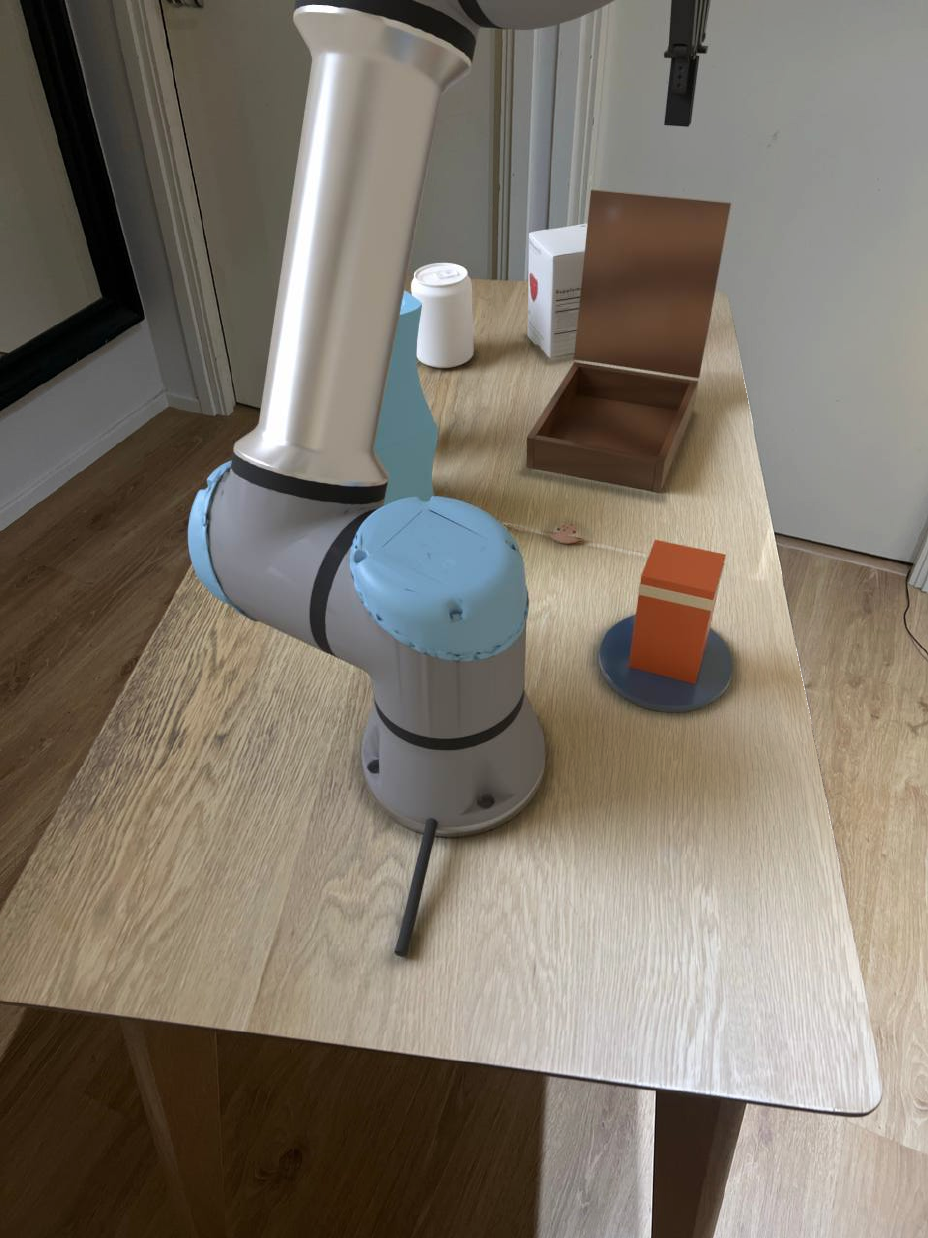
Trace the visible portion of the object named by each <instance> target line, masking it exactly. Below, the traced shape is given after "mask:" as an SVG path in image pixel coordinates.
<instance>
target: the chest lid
mask: <svg viewBox="0 0 928 1238" xmlns="http://www.w3.org/2000/svg"><path fill="white" fill-rule="evenodd" d="M731 207H732V202H731V201H720V200H711V199H699V198H690V197H679V196H678V197H677V196H671V195H670V196H669V195H658V194H646V193H637V192H627V191H616V190H607V189H606V190H605V189H596V188H592V189H591V190H590V196H589V204H588V214H587V234H586V244H585V254H584V263H583V273H582V283H581V293H580V303H579V313H578V323H577V333H576V343H575V352H574V353H573V360H576V361H581V362H590V363H595V364H601V365H602V364H603V365H608V366H614V367H622V368H629V369H635V370H640V371H641V370H642V371H648V372H653V373H654V372H655V373H661V374H668V375H675V376H681V377H688V378H694V379H699V378H700V377H701V372H702V371H701V370H702V366H703V361H704V355H705V349H706V344H707V339H708V333H709V329H710V322H711V317H712V312H713V306H714V301H715V296H716V295H715V294H716V290H717V284H718V278H719V274H720V268H721V263H722V256H723V251H724V247H725V241H726V236H727V230H728V224H729V219H730V213H731V209H732V208H731Z"/></svg>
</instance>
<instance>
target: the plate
mask: <svg viewBox="0 0 928 1238" xmlns="http://www.w3.org/2000/svg"><path fill="white" fill-rule="evenodd" d="M635 617H636V614H634V615H630V616H628V617H625V618H623V619H622V620H619V621H618V622H616V623H615V624H614V625H612V626H611V628H609V630H607V632H606V633H605V634H604V636H603V638H602V640H601V642H600V646H599V653H598V663H599V667H600V671H601V674H602V676H603V678H604V680H605V681H606V682H607V684H608V685H609V686H610V687H611V688H612V690H614V692H616V693H617V694H618V695H619V696H621V697H622V698H623V699H624V700H627V701H629V702H631V704H632V703H633V704H634V705H637V706H639V707H642V708H644V709H649V710H652V711H657V712H664V713H665V712H666V713H683V712H684V713H685V712H690V711H695V710H698V709H701V708H704V707H706V706H707V705H710V704H712V703H713V702H715V701H717V699H719V698H720V697H721V696H722V695H723V694H724V693H725V692H726V691H727V688H728V687H729V685H730V682H731V679H732V676H733V670H734V661H733V656H732V653H731V651H730V648H729V646H728V645H727V643H726V642H725V640H724V639H723V638H722V636H721V635H719V634H718V633H717V632H716V631H715V630H714V629H713V628H711V627H710V630H709V634H708V639H707V644H706V648H705V651H704V655H703V658H702V662H701V665H700V669H699V672H698V676H697V679H696V683H695V684H693V683H689V682H685V681H681V680H677V679H673V678H669V677H665V676H661V675H657V674H653V673H649V672H645V671H641V670H638V669H634V668H630V667H629V661H630V654H631V647H632V639H633V632H634V625H635Z"/></svg>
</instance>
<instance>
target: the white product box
mask: <svg viewBox="0 0 928 1238" xmlns="http://www.w3.org/2000/svg"><path fill="white" fill-rule="evenodd" d="M587 224H588V222H586V223H582V224H575V225H571V226H570V225H569V226H563V227H557V228H550V229H541V230H536V231H532V232H529V233H528V271H527V272H528V273H527V275H528V281H527V285H528V286H527V300H528V301H527V337H528V339H530V341H531V342H532V343H533V344H534V345H535V346H539V348H540V349H541V350H542V351H543V352H544V354H546V356H547V357H548V358H555V357H562V356H567V355H572V354H573V355H574V352H575V343H576V333H577V323H578V313H579V303H580V293H581V283H582V273H583V263H584V254H585V244H586V234H587Z"/></svg>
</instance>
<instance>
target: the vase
mask: <svg viewBox="0 0 928 1238" xmlns="http://www.w3.org/2000/svg"><path fill="white" fill-rule="evenodd" d="M421 310H422V303H421V302H420V301H419V300H418V299H417V298H415V297H414V296H412V293H409V292H408V291H407V290H406V289H405V290H404V295H403V300H402V305H401V311H400V316H399V321H398V326H397V331H396V337H395V342H394V347H393V352H392V357H391V362H390V368H389V373H388V378H387V383H386V388H385V393H384V399H383V404H382V409H381V414H380V419H379V425H378V430H377V435H376V440H375V445H374V449H375V452H376V454H377V456H378V457H379V459H380V461H381V462H382V464H383V465H384V467H385V468H386V470H387V471H388V473H389V480H388V484H387V489H386V494H385V500H384V505H387V504H389V503H391V502H394V501H397V500H400V499H405V498H410V497H418V498H419V499H420V500H421V501H424V502H427V501H430V498H431V497H432V496H435V493H434V488H433V487H434V486H433V470H434V462H435V457H436V455H435V454H436V451H437V446H438V441H439V427H438V425H437V423H436V420H435V418H434V416H433V413H432V412H431V410H430V407H429V405H428V402H427V400H426V397H425V394H424V391H423V388H422V384H421V379H420V375H419V370H418V358H417V338H418V330H419V323H420V317H421Z"/></svg>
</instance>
